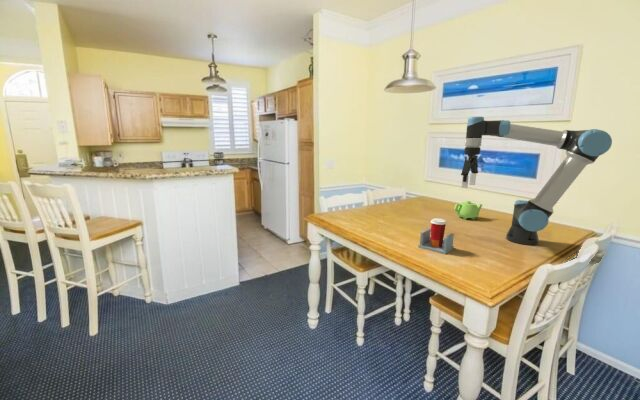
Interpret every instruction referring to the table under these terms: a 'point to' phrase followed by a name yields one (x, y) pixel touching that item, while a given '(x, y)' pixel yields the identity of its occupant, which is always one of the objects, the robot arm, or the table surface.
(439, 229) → the paper cup
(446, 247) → the holder
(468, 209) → the teapot
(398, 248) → the table surface
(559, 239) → the table surface
